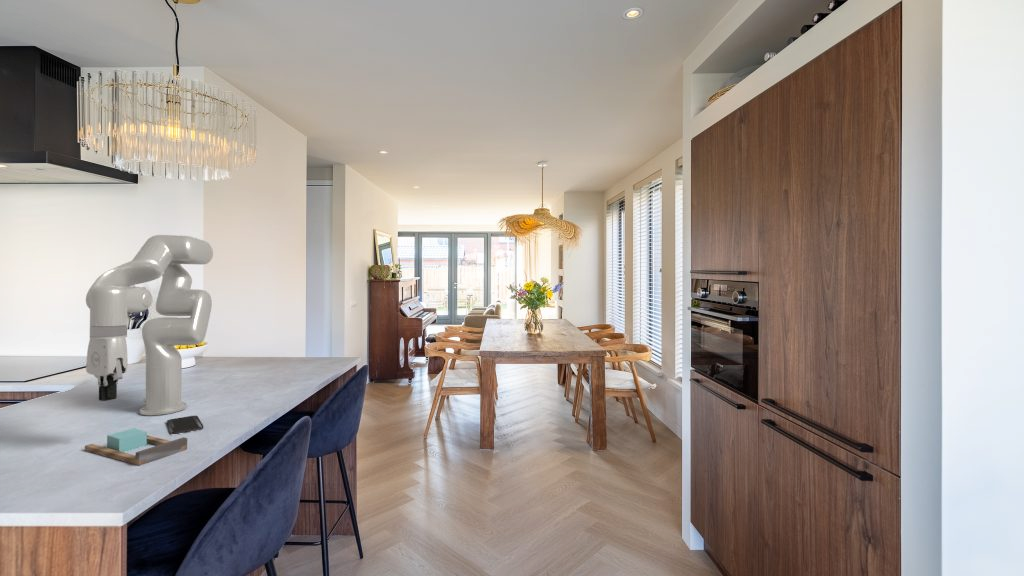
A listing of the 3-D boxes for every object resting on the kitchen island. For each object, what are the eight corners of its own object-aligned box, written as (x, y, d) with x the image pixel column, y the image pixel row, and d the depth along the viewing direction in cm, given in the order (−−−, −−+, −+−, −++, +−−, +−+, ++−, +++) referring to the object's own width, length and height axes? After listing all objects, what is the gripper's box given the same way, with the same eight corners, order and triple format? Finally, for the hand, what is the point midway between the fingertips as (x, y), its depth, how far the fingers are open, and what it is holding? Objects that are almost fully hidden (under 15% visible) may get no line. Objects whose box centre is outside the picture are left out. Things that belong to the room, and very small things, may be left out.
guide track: (84, 450, 114) (84, 439, 114) (133, 436, 124) (133, 426, 124) (139, 465, 106) (139, 453, 106) (187, 449, 116) (187, 438, 116)
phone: (196, 415, 142) (204, 426, 131) (196, 418, 142) (204, 430, 131) (166, 419, 137) (171, 432, 126) (166, 423, 137) (170, 436, 126)
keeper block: (107, 450, 115) (107, 435, 115) (134, 442, 121) (134, 428, 121) (119, 454, 113) (119, 439, 113) (146, 446, 118) (146, 431, 118)
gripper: (75, 332, 118) (74, 400, 118) (108, 335, 112) (107, 406, 112) (109, 330, 125) (108, 394, 125) (141, 332, 119) (140, 399, 119)
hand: (107, 399), depth 119 cm, fingers closed
